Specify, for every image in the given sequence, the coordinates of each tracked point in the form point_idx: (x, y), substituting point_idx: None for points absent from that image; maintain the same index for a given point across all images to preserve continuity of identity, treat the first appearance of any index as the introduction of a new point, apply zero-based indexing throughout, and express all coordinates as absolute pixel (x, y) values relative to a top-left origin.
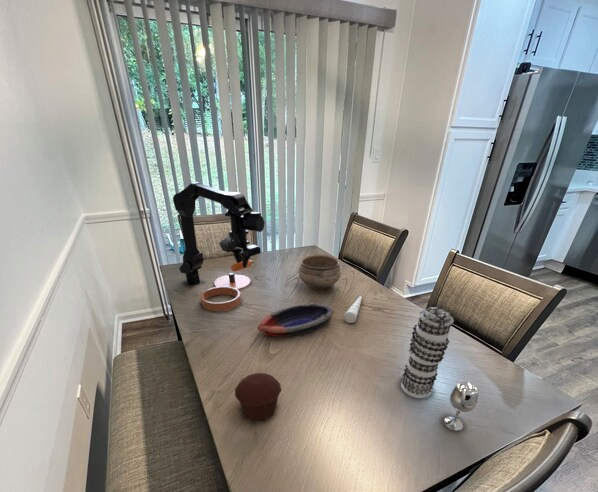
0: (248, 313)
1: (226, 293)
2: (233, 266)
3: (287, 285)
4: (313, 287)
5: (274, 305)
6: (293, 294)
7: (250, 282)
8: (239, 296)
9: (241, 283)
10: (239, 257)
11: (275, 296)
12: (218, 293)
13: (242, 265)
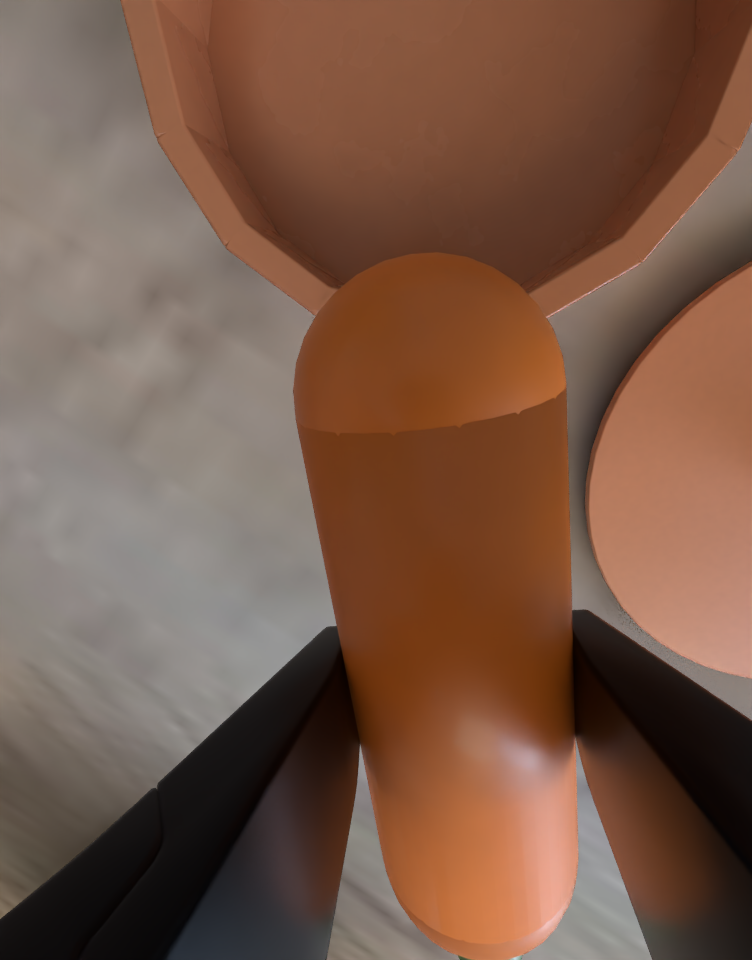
0: (30, 217)
1: (598, 233)
2: (350, 328)
3: (362, 815)
4: None
5: (75, 523)
6: (184, 749)
7: (650, 632)
8: (228, 247)
9: (695, 540)
10: (680, 918)
11: (231, 630)
12: (675, 118)
13: (343, 652)
